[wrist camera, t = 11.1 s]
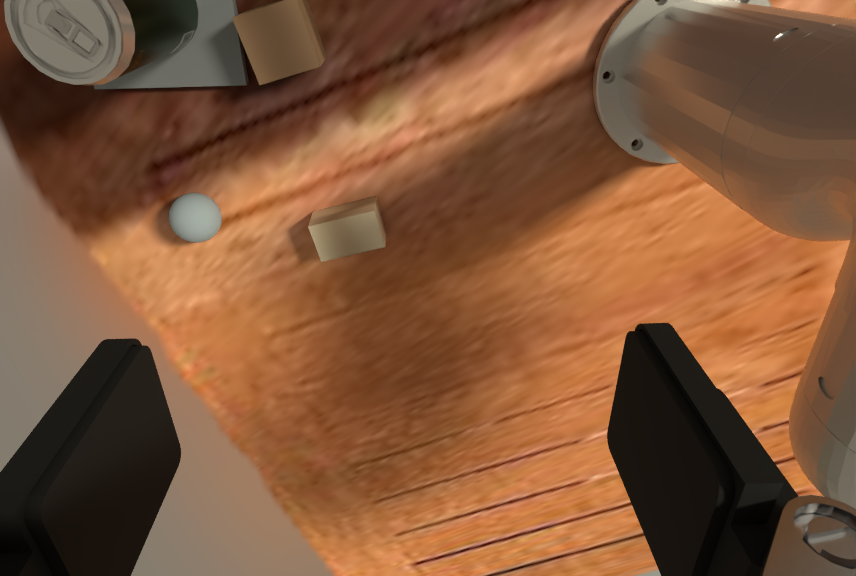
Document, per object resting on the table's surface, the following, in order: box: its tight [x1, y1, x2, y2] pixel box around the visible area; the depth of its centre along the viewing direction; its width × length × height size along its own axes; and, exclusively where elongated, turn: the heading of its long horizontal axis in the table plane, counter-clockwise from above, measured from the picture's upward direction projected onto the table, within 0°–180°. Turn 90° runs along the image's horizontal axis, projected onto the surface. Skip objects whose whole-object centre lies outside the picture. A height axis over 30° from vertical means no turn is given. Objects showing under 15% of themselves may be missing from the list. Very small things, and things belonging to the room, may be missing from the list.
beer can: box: [4, 0, 199, 86], centre depth 31 cm, size 5×5×12 cm
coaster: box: [94, 0, 249, 89], centre depth 37 cm, size 10×10×1 cm
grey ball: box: [169, 193, 222, 242], centre depth 43 cm, size 4×4×4 cm
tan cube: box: [232, 0, 327, 85], centre depth 37 cm, size 4×4×4 cm
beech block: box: [308, 196, 386, 262], centre depth 44 cm, size 5×3×3 cm, turn 103°
